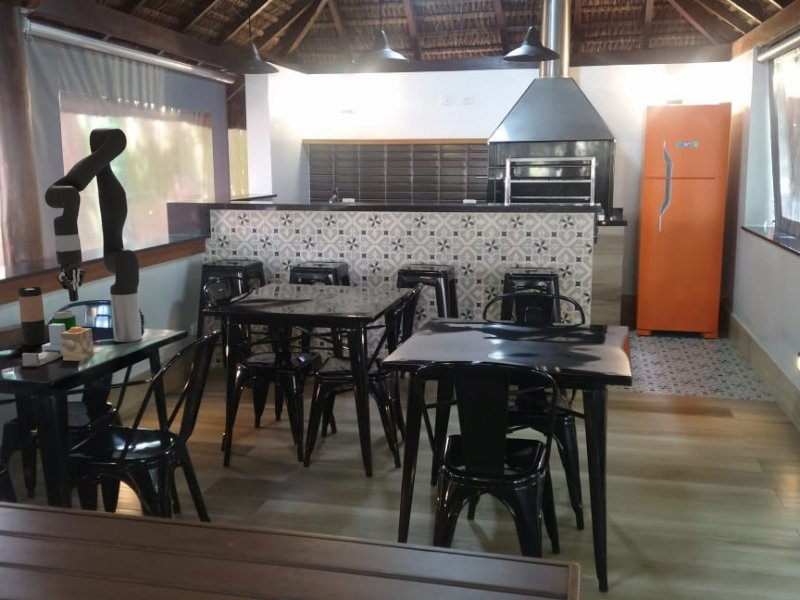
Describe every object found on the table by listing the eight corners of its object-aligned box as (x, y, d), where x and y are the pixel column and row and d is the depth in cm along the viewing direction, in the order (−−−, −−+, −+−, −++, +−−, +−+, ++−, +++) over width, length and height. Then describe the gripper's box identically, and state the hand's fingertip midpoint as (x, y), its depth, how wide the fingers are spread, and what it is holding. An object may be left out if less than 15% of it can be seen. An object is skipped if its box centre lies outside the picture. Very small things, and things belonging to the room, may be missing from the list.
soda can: (81, 344, 269) (78, 311, 266) (59, 348, 263) (56, 314, 261) (72, 341, 274) (69, 308, 272) (51, 345, 269) (48, 311, 267)
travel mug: (37, 346, 267) (31, 290, 264) (18, 345, 269) (12, 289, 265) (51, 341, 275) (46, 286, 271) (32, 340, 276) (27, 286, 273)
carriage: (55, 349, 259) (52, 322, 257) (75, 349, 258) (73, 322, 256) (42, 354, 252) (39, 326, 250) (63, 354, 251) (60, 326, 249)
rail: (65, 348, 263) (64, 337, 262) (78, 349, 262) (77, 338, 261) (23, 366, 241) (22, 353, 240) (37, 366, 240) (36, 354, 239)
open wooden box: (77, 354, 255) (75, 328, 253) (94, 354, 254) (92, 328, 252) (62, 360, 247) (60, 333, 245) (80, 361, 246) (78, 334, 244)
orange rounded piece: (75, 341, 252) (74, 326, 251) (85, 341, 251) (84, 326, 250) (69, 343, 248) (67, 328, 247) (79, 344, 248) (77, 329, 247)
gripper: (69, 246, 251) (75, 297, 254) (45, 251, 238) (51, 305, 241) (90, 245, 250) (95, 297, 253) (66, 251, 237) (72, 305, 240)
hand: (74, 301), depth 247 cm, fingers closed
